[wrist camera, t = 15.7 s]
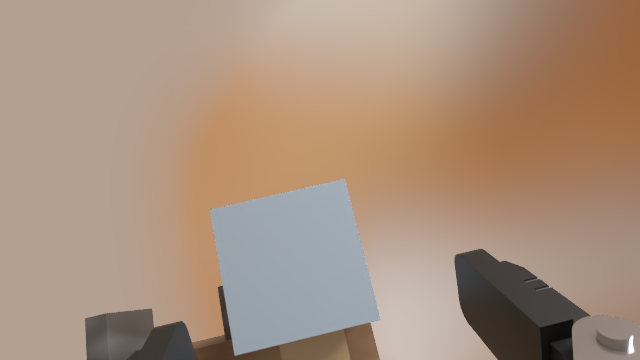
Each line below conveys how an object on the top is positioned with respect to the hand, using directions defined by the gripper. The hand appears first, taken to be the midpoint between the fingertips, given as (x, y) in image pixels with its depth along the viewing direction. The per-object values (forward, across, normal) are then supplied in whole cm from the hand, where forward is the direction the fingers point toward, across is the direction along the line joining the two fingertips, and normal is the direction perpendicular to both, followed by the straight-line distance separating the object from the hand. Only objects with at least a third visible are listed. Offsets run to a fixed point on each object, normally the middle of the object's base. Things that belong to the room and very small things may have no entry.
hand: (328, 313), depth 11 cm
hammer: (+9, -1, -8) cm, 12 cm away
